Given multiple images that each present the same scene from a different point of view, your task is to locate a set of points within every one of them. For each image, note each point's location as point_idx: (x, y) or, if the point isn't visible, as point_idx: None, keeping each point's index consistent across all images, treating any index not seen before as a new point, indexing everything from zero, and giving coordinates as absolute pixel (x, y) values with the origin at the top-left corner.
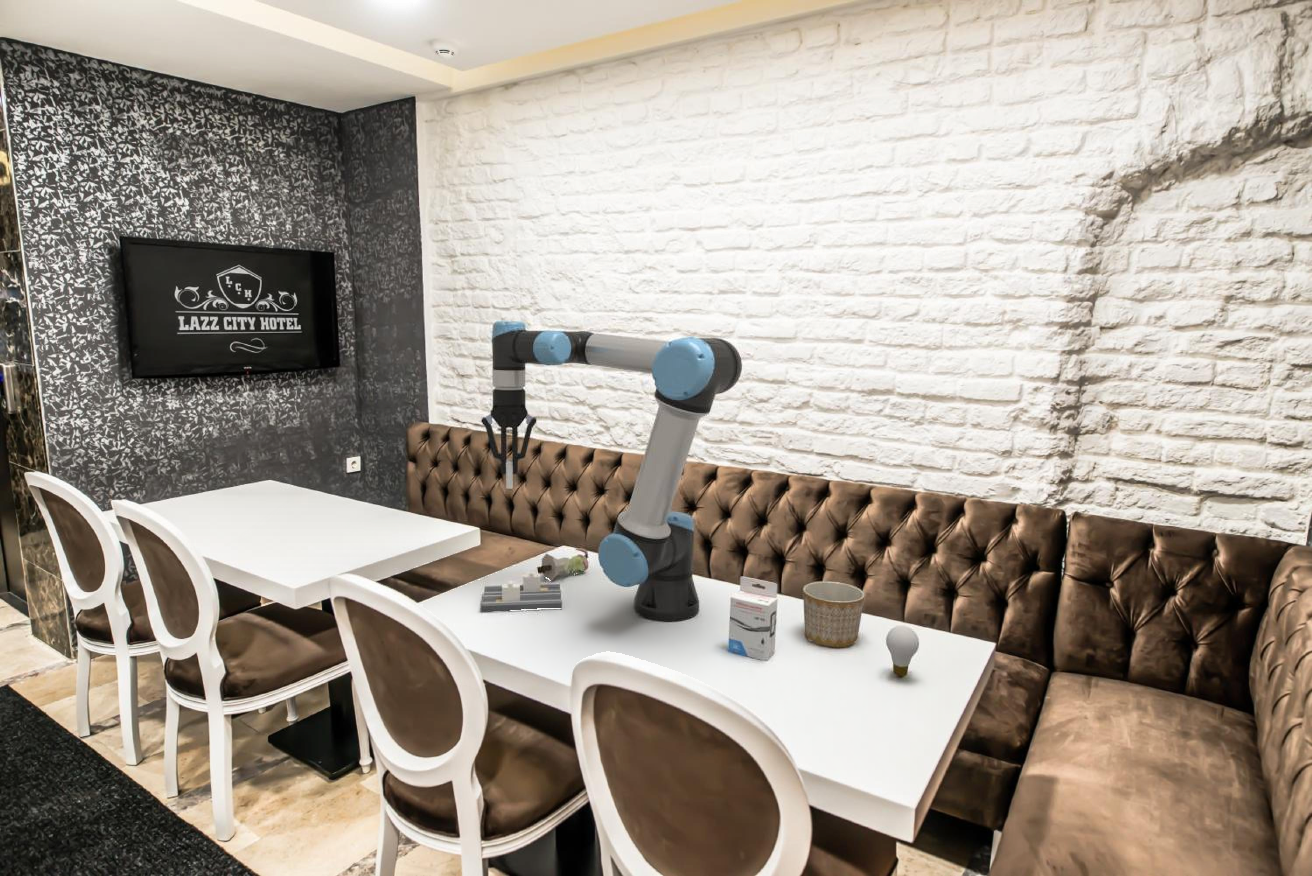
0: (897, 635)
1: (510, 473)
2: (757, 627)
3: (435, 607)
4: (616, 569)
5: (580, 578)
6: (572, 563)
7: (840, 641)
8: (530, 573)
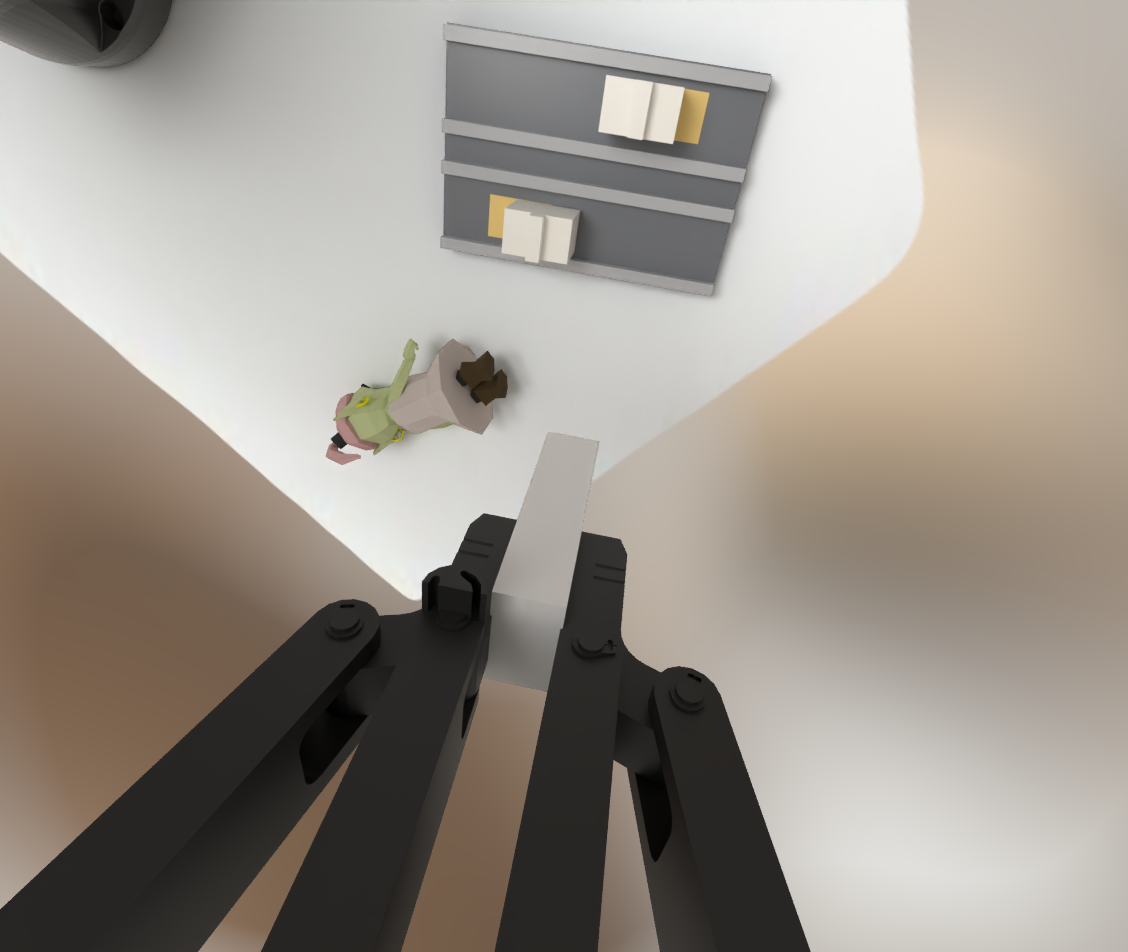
0: None
1: (542, 510)
2: None
3: (920, 192)
4: None
5: (377, 355)
6: (385, 404)
7: None
8: (541, 220)
